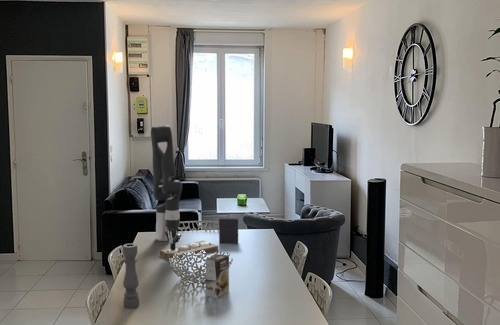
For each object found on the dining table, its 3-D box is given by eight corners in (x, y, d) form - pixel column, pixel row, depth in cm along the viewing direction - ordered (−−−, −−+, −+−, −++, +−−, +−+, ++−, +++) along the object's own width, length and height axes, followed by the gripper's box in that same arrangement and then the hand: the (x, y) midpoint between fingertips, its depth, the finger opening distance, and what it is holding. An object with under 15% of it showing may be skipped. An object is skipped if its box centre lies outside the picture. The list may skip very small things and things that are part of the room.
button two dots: (167, 254, 262) (166, 249, 261) (174, 252, 265) (174, 247, 264) (172, 256, 258) (171, 251, 258) (179, 254, 261) (179, 249, 261)
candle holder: (125, 302, 200) (123, 243, 197) (140, 302, 201) (139, 243, 198) (122, 309, 194) (120, 247, 191) (138, 308, 195) (136, 247, 192)
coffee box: (217, 298, 205) (217, 261, 203) (205, 295, 209) (204, 258, 207) (229, 291, 213) (229, 255, 211) (217, 288, 216) (217, 253, 214)
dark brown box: (238, 242, 290) (238, 217, 289) (237, 244, 286) (237, 219, 284) (220, 241, 291) (220, 217, 290) (219, 243, 287) (218, 218, 285)
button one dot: (198, 247, 276) (198, 243, 275) (205, 246, 279) (205, 241, 279) (203, 249, 272) (203, 244, 272) (210, 247, 275) (210, 243, 275)
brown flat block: (159, 255, 264) (159, 250, 264) (202, 245, 283) (202, 240, 283) (174, 261, 254) (174, 256, 253) (218, 250, 273) (218, 245, 273)
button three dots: (188, 248, 271) (188, 243, 271) (195, 246, 274) (195, 242, 274) (193, 250, 267) (193, 245, 267) (200, 248, 271) (200, 244, 270)
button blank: (177, 251, 266) (177, 246, 266) (185, 249, 269) (185, 244, 269) (183, 253, 263) (182, 248, 262) (190, 251, 266) (190, 246, 266)
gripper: (159, 216, 261) (160, 248, 263) (173, 221, 252) (173, 253, 253) (171, 214, 266) (172, 246, 268) (185, 218, 257) (185, 251, 258)
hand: (172, 249), depth 261 cm, fingers closed
